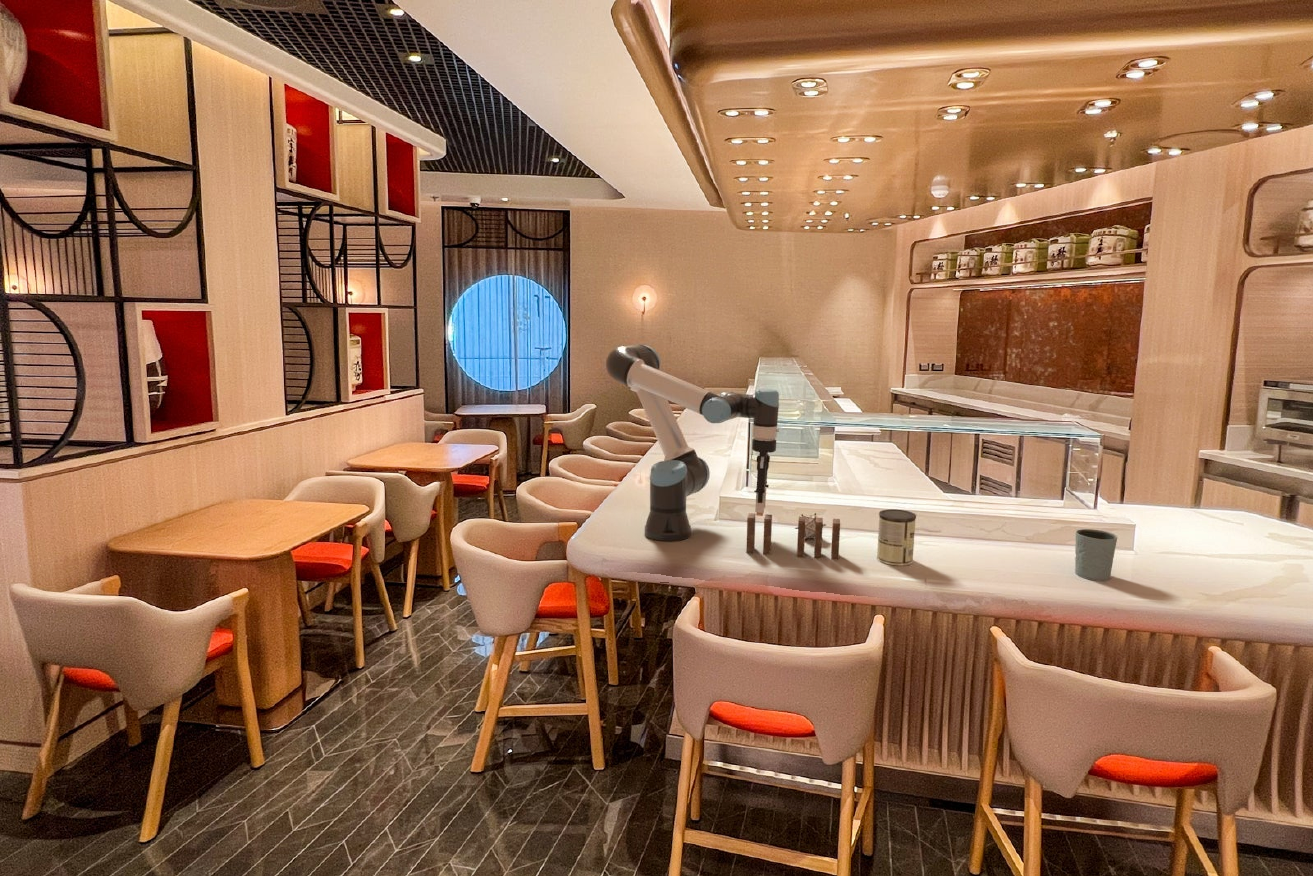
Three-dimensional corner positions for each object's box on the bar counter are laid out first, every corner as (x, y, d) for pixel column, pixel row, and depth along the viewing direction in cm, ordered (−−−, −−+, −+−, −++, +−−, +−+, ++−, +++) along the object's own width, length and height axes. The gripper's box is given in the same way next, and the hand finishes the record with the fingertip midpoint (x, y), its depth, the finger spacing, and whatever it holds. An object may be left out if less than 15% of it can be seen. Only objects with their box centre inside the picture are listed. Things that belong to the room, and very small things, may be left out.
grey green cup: (1095, 583, 206) (1100, 541, 204) (1062, 571, 215) (1067, 530, 213) (1121, 578, 210) (1126, 536, 208) (1087, 567, 219) (1092, 526, 217)
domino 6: (831, 559, 224) (833, 523, 222) (831, 553, 229) (832, 518, 227) (838, 559, 224) (840, 523, 222) (837, 554, 228) (839, 519, 227)
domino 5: (814, 558, 225) (815, 522, 223) (814, 552, 230) (815, 517, 228) (820, 558, 225) (822, 522, 223) (820, 553, 229) (822, 517, 228)
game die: (814, 551, 243) (825, 532, 236) (789, 540, 244) (800, 521, 237) (820, 531, 249) (831, 512, 242) (796, 521, 250) (806, 502, 243)
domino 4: (796, 556, 226) (798, 520, 224) (797, 551, 231) (798, 516, 229) (803, 557, 226) (805, 521, 224) (804, 551, 230) (805, 516, 229)
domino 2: (756, 515, 242) (758, 481, 240) (757, 511, 247) (759, 478, 245) (762, 516, 242) (764, 482, 240) (763, 511, 246) (765, 478, 244)
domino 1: (746, 552, 229) (747, 517, 227) (747, 547, 234) (748, 513, 232) (753, 553, 229) (754, 518, 227) (754, 548, 234) (755, 513, 232)
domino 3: (763, 554, 228) (764, 518, 226) (764, 549, 233) (765, 514, 231) (769, 554, 228) (771, 519, 226) (770, 549, 233) (772, 514, 231)
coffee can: (877, 552, 230) (880, 507, 228) (913, 556, 227) (916, 511, 224) (875, 563, 221) (878, 516, 218) (912, 567, 217) (916, 520, 215)
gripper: (774, 444, 230) (770, 518, 235) (778, 434, 248) (773, 503, 252) (750, 442, 232) (745, 516, 236) (754, 432, 249) (751, 501, 253)
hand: (760, 509), depth 244 cm, fingers closed on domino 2, 5 cm apart
